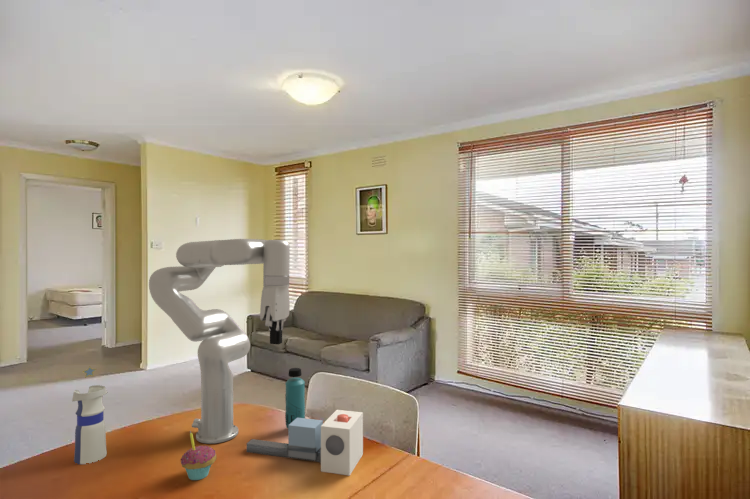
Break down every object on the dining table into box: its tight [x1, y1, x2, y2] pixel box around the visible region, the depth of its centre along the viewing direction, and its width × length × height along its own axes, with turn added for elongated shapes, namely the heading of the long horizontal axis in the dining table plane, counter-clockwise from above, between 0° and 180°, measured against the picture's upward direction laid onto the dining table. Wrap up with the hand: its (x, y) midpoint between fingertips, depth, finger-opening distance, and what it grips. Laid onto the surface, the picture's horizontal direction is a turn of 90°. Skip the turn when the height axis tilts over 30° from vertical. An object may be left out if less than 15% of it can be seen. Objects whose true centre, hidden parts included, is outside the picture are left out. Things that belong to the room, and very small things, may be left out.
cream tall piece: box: [71, 366, 108, 465], centre depth 121 cm, size 8×8×25 cm
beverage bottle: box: [284, 367, 306, 429], centre depth 139 cm, size 6×7×20 cm
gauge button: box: [337, 414, 348, 422], centre depth 118 cm, size 3×3×7 cm
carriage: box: [287, 417, 324, 460], centre depth 121 cm, size 8×6×9 cm
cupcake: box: [180, 430, 217, 481], centre depth 111 cm, size 9×8×12 cm
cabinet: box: [320, 409, 364, 476], centre depth 118 cm, size 8×12×12 cm, turn 165°
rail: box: [245, 438, 321, 463], centre depth 122 cm, size 25×3×2 cm, turn 75°
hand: (276, 343), depth 127 cm, fingers closed
